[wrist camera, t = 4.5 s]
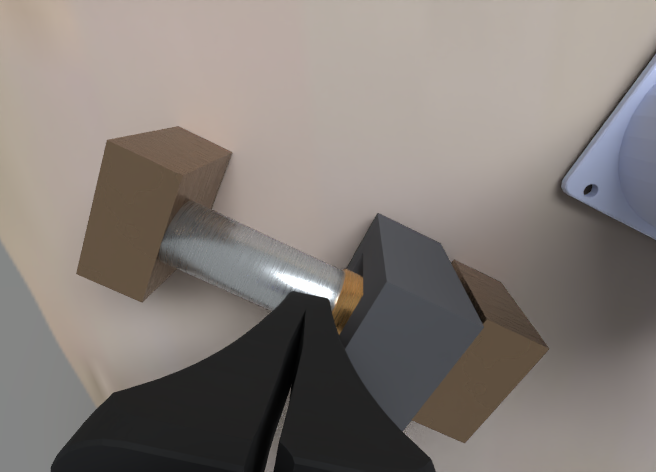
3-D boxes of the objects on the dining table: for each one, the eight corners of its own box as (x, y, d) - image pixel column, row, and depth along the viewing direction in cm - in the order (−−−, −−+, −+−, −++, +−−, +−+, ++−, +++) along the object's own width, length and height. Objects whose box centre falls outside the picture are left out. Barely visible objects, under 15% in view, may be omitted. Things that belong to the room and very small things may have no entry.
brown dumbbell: (500, 282, 17) (551, 351, 12) (440, 361, 18) (465, 446, 14) (178, 126, 15) (104, 140, 11) (147, 228, 17) (73, 275, 13)
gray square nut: (440, 243, 16) (484, 327, 10) (374, 345, 18) (379, 460, 12) (377, 212, 15) (386, 281, 10) (317, 320, 18) (297, 426, 12)
